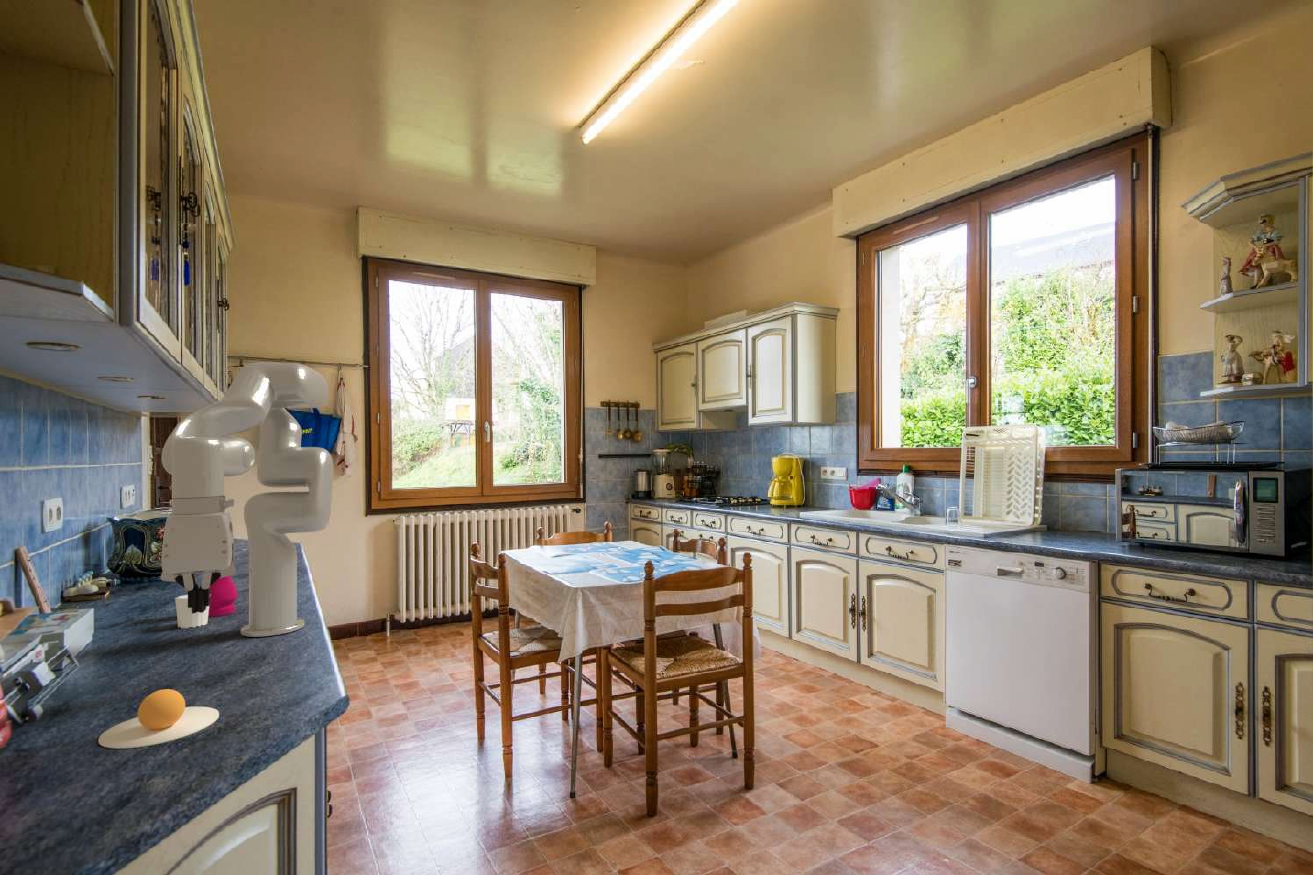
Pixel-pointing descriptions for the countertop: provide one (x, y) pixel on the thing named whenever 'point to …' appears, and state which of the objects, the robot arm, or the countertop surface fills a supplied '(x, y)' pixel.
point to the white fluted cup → (189, 614)
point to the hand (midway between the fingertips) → (199, 610)
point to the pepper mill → (222, 597)
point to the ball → (161, 709)
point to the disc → (140, 736)
